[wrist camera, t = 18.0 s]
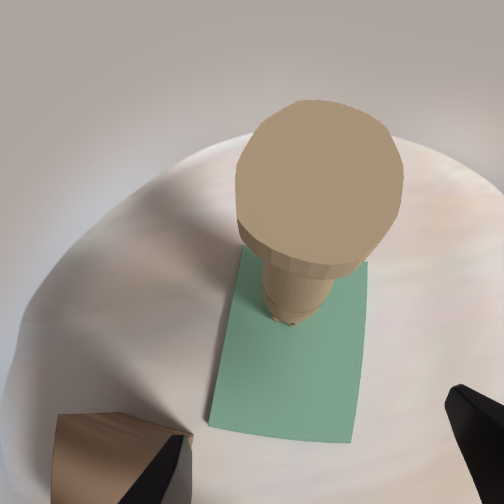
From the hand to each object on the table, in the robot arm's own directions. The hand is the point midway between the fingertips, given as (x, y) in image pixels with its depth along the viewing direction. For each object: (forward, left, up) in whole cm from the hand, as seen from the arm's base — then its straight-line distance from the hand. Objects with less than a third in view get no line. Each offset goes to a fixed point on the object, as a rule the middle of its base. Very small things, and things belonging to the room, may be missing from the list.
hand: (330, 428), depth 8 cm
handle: (+7, +1, -12) cm, 14 cm away
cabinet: (-10, +10, -12) cm, 19 cm away
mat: (+5, +1, -12) cm, 13 cm away
